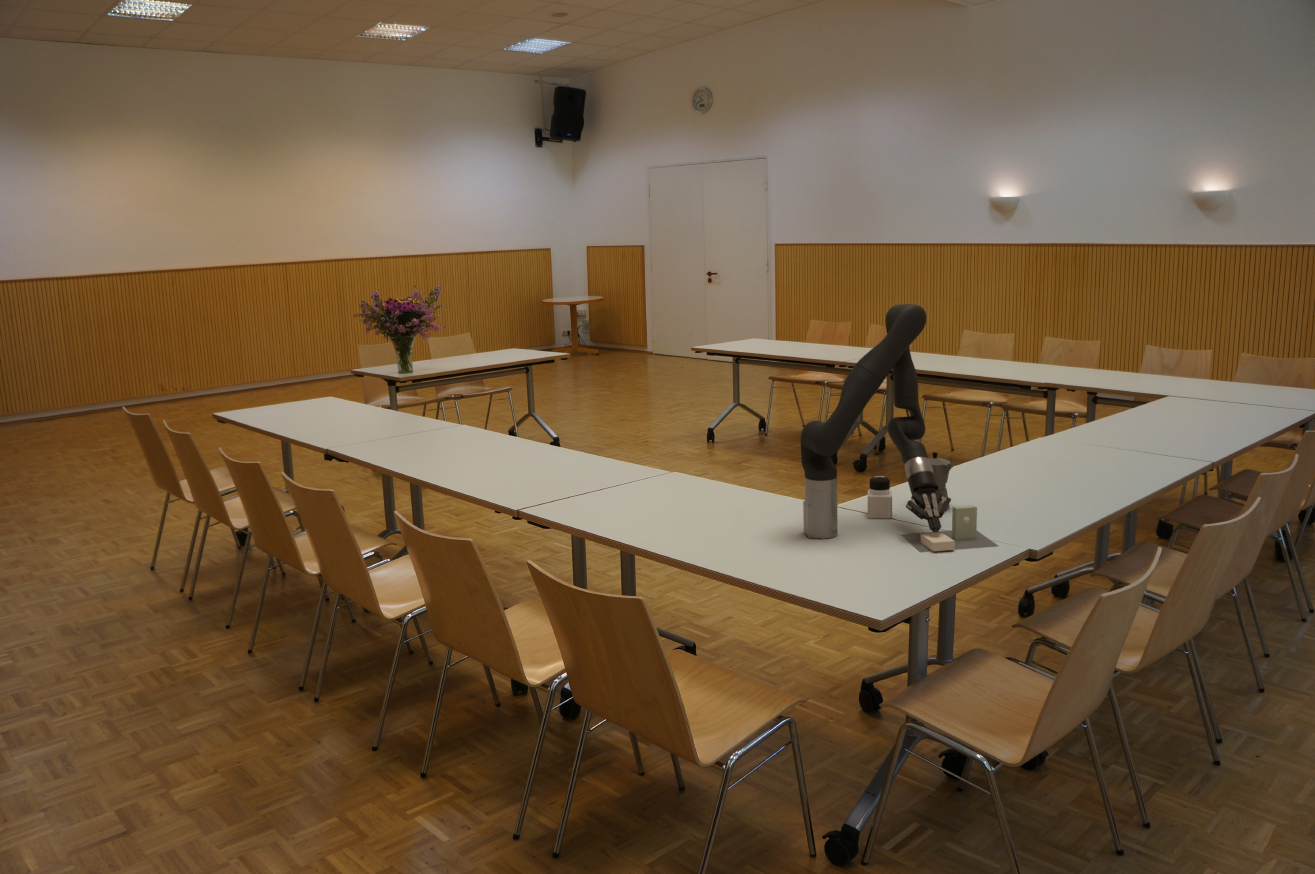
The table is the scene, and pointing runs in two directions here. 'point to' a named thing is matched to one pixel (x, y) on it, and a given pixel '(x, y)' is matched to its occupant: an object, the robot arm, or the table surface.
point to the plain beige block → (937, 542)
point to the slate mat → (959, 544)
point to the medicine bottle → (880, 498)
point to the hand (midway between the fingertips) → (936, 530)
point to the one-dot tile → (964, 522)
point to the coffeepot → (941, 475)
